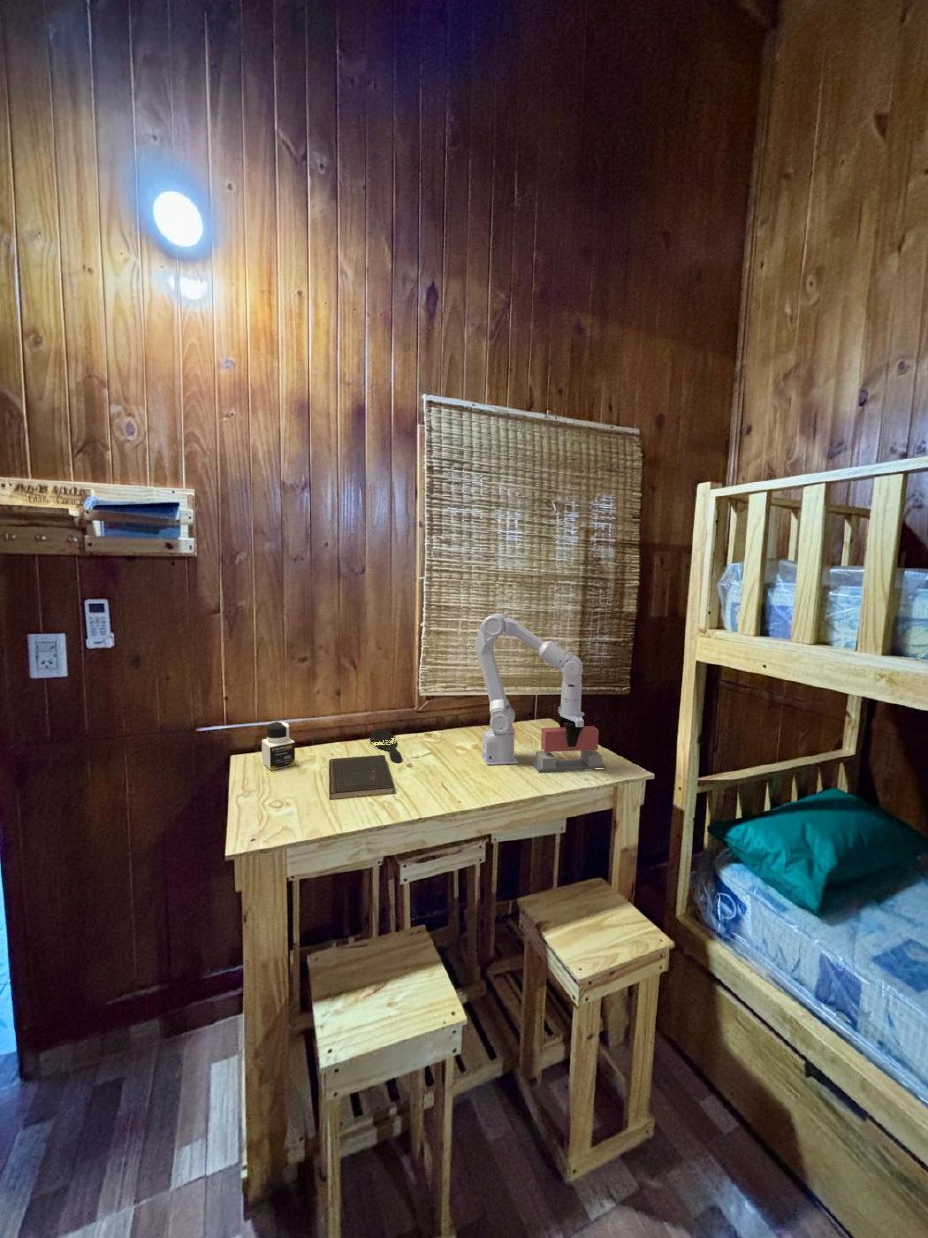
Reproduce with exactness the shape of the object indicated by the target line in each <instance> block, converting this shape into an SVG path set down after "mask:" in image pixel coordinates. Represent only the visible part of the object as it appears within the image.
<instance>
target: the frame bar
mask: <svg viewBox="0 0 928 1238" xmlns="http://www.w3.org/2000/svg"><path fill="white" fill-rule="evenodd" d="M540 738H541V739H540V741H541V742H540V748H541V750H542V751H544V752H551V753H553V752H554V753H555V752H557V753H559V752H578V751H580V752H581V751H583V750H596V751H598V750H599V729H598V728H597V727H595V725H589V726H588V725H587V726H586V725H584V728H583V729H582V731H581V732H580V735H579V737H578V741H577V744H576V747H569V746H568V743H567V733H566V729H565V727H560V726H559V727H558V726H556V727H553V726H552V727H541V737H540Z"/></svg>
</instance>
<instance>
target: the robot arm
mask: <svg viewBox="0 0 928 1238" xmlns="http://www.w3.org/2000/svg"><path fill="white" fill-rule="evenodd" d="M501 635H503V637H515V638H517V639H518V640H519V641H521V642H523V643H525V644H527V645H528V646H530V647H531V648H533V649H535V650H536V651H537V652H538V656H539V658H540V659H542V660H543V661H545V662H546V663H548V664H549V665H550V666H553V667H554V668H555V669H556V670H560V671H561V674H562V681H561V687H560V688H561V689H560V691H561V692H560V706H557V707H558V708H557V714H559V716H557V717H556V720H557V723H558V725H559V727H565V729H566V733H567V743H568V746H569V747H576V744H577V741H578V737H579V735H580V732H581V731H582V729H583V728H584V726H585V722H584V721H585V720H584V719H583V717H584V716H585V713H584V712H583V711H582V690H583V689H582V688H583V684H582V680H583V679H582V678H583V677H582V674H583V672H584V669H583V662H582V660H581V658H579V657H578V656H577V655H575V654H573V653H572V652H571V651H567V650H566V649H563V648H562V647H561V646H559V643H558V642H557V641H554V642H553V641H551V640H548V641H547V640H546V641H544V640H542V638H540V637H539V636H537V635H536V634H534V633H533V632H531V630H529V629H528V628H526V627H525V626H523V625H522V624H520V623H519V622H518V621H516V620H514V619H513V618H511V617H507V615H505V614H504V613H501V612H495V613H493V614H492V615H488V616H487V617H485V618H484V620H483V621H482V623H480V624H479V630H478V633H477V636H476V640H475V643H474V649H475V652H476V655H477V658H478V662H479V667H480V670H481V675H482V677H483V682H484V685H485V689H486V692H487V693H486V694H487V696H488V701H489V713H490V720H489V726H490V730H486V731H482V735H481V737H482V739H481V741H482V743H481V757H482V759H483V762H485V764H486V765H487V766H493V765H494V766H495V765H514V764H515V765H516V764H519V761H518V759H516V757H515V728H514V726H513V723H514V722H515V720H516V712H515V710H514V709H513V708H512V707H511V705H510V702H509V699H508V698H507V696H506V693H505V688H504V686H503V682H502V681H503V680H502V678H501V674H500V669H499V666H498V662H497V658H496V656H495V651H494V648H493V647H494V645H495V643H496V642H497V641H498V639H499V637H500V636H501Z"/></svg>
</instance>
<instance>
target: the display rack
mask: <svg viewBox="0 0 928 1238" xmlns="http://www.w3.org/2000/svg"><path fill="white" fill-rule="evenodd" d="M531 763H532V766H533V768H534V769H535V770H536V771H537V772H538V773H541V772H543V773H556V772H557V773H558V772H560V773H561V772H573V771H575V772H576V770H579V771H586V770H585V769H595V768H605V769H606V765H605V764H604V763H603V755H602V754H600V753H599V752H598V750H583V751H580V758H577V759H576V758H574V759H573V758H572V759H557V757H556V756H555V755H554V754H553V752H544V751H543V750H539V751H537V750H536V751H535V761H533V760H532V762H531Z"/></svg>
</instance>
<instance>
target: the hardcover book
mask: <svg viewBox="0 0 928 1238" xmlns="http://www.w3.org/2000/svg"><path fill="white" fill-rule="evenodd" d="M393 789H395V785H394V782H393V778H392V774H391V771H390V768H389V766H388V762H387V759H386V756H385V754H380V755H378V754H377V755H365V756H363V755H362V756H351V757H339V758H338V757H337V758H330V759H329V760H328V796H329V797H328V798H329V800H332V799H333V800H334V799H342V798H344V799H345V798H355V797H356V798H357V797H364V796H365V797H367V796H376V795H377V796H378V795H385V794H393V793H394V792H393Z"/></svg>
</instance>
